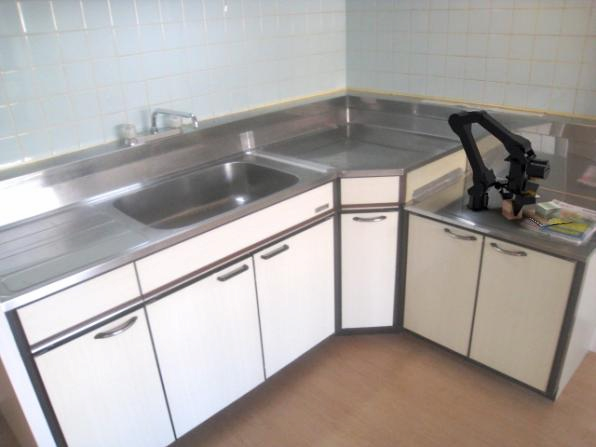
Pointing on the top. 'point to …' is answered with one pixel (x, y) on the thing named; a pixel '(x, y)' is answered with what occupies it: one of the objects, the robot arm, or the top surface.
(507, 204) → the top block
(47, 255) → the top surface
